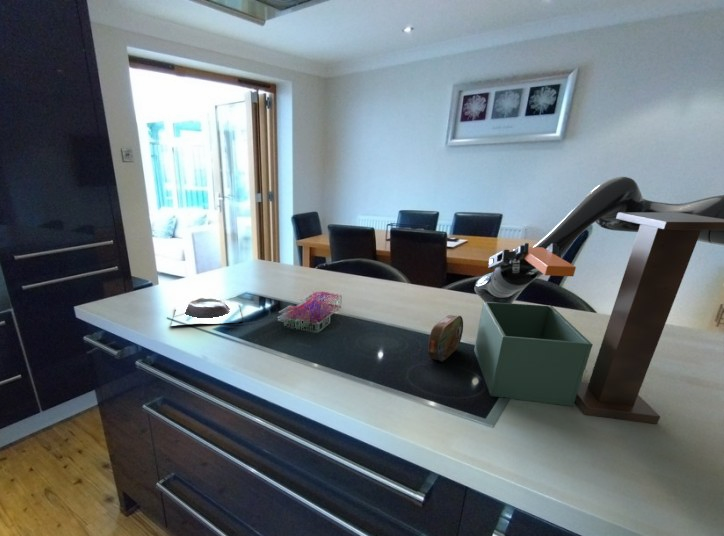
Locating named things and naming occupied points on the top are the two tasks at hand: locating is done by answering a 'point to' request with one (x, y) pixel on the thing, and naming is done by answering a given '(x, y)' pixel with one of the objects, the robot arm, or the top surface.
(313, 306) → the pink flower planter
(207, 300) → the dark grey round dish
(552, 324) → the bin
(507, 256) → the robot arm
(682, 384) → the top surface
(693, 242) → the stand
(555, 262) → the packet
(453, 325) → the tin
